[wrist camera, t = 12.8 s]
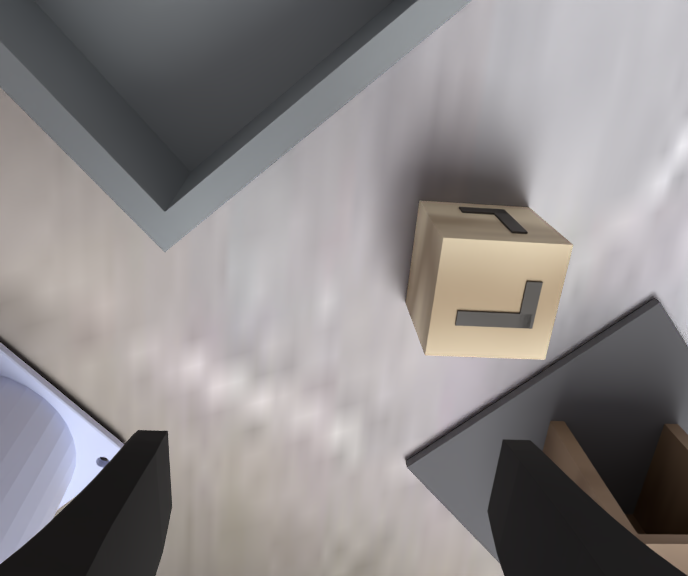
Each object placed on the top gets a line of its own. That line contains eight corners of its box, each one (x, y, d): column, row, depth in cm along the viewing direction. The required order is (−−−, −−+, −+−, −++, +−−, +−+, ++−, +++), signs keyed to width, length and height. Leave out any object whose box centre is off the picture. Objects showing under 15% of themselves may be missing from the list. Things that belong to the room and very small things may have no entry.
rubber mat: (545, 606, 31) (548, 613, 31) (405, 461, 27) (407, 467, 26) (768, 480, 28) (774, 486, 28) (654, 298, 24) (660, 302, 24)
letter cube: (507, 306, 24) (545, 360, 20) (405, 301, 24) (425, 356, 20) (528, 204, 22) (574, 243, 19) (418, 198, 22) (444, 236, 18)
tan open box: (641, 524, 28) (732, 659, 23) (523, 523, 28) (584, 661, 22) (677, 424, 26) (788, 544, 20) (550, 420, 26) (626, 543, 20)
